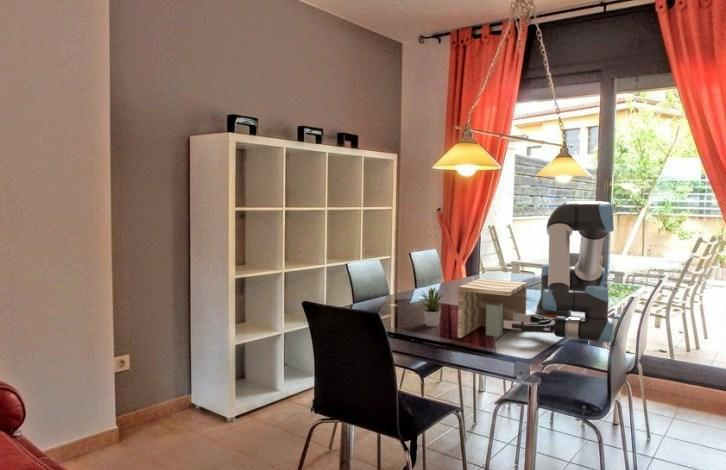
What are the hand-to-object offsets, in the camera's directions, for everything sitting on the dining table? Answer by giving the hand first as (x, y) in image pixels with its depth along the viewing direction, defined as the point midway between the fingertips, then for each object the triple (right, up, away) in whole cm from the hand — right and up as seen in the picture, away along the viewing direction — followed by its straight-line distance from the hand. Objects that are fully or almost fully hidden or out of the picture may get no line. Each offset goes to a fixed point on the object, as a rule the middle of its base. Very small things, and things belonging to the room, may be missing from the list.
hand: (508, 320), depth 206 cm
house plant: (-28, -5, +20) cm, 34 cm away
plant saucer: (+18, -6, +18) cm, 26 cm away
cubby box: (-5, -6, +4) cm, 9 cm away
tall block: (-5, -6, +4) cm, 9 cm away
